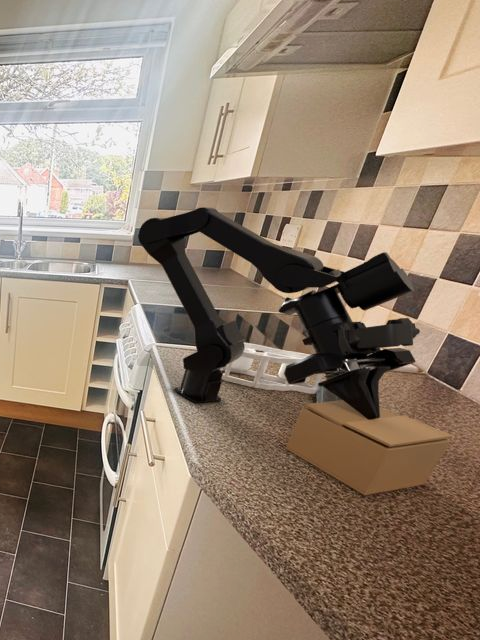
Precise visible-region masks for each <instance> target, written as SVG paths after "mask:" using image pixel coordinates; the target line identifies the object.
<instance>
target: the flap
mask: <svg viewBox="0 0 480 640" xmlns="http://www.w3.org/2000/svg"><path fill="white" fill-rule="evenodd" d="M303 406H304V408H308V409H310V410H312V411H314V412H316V413H317V414H319V415H321V416H323V417H325V418H327V419H328V420H330V421H332V422H334V423H336V424H337V425H339V426H341V427H342V426H345V425H344V424H345V423H348V422H356V421H364V420H368V419H367V418H366V417H364V416H363V415H362V414H360V413H359V412H358V411H356V410H355V409H354V408H353V407H351V406H350V405H349V404H347V403H346V402H345V401H343V400H339V401H329V402H320V403H317V402H312V403H304V405H303ZM379 408H380V417H379V418H377V419H381V418H389V417H397V416H399V415H397V414H396V413H393V412H392V411H389V410H388V409H385V408H383V407H381V406H379Z"/></svg>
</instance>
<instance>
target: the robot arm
mask: <svg viewBox="0 0 480 640" xmlns="http://www.w3.org/2000/svg"><path fill="white" fill-rule="evenodd" d="M138 230H139V231H138V233H137V239H138V243H139V244H140V245H141V247H142V248H143V249H144V251H145V252H146V253H147V254H148V255H149V256H150V257H151V258H152V259H154V260H155V261H156V262H157V263H158V264H159V265H161V267H162V269H163V271H164V272H165V275H166V277H167V278H168V281H169V282H170V284H171V286H172V288H173V290H174V292H175V294H176V296H177V298H178V300H179V301H180V303H181V305H182V307H183V309H184V311H185V313H186V315H187V317H188V319H189V321H190V322H191V325H192V326H193V333H194V345H195V348H196V352H193V353H192V354H190V355H187V356H185V357H184V358H183V359H182V363H183V369H184V373H183V377H182V380H181V384H180V386H177V387H173V391H174V392H176V393H178V394H179V395H181V396H182V397H184V398H186V399H187V400H189V401H191V402H192V403H194V404H201V403H211V402H220V401H222V398H221V397H220V396H219V392H220V389H221V386H222V382H223V380H222V379H221V378H222V375H223V374H224V373H223V372H222V371H221V370H220V369H221V368H223V367H225V366H226V365H227V364H229V363H231V362H233V361H235V360H237V359H238V358H239V357H240V356H241V355H242V354H243V351H244V349H245V346H244V343H245V342H244V340H246V337H245V336H244V335H243V334H242V333H241V331H240V329H239V326H238V323H237V321H236V320H231V321H228V322H227V321H225V320H224V319H223V318H221V316H220V315H219V314H218V312H217V310H216V308H215V306H214V305H213V302H212V301H211V298H210V297H209V294H208V293H207V291H206V289H205V288H204V286H203V284H202V282H201V280H200V278H199V276H198V275H197V273H196V271H195V269H194V267H193V265H192V263H191V262H190V259H189V258H188V256H187V252H186V237H189V236H192V235H195V234H198V233H200V234H202V235H204V236H206V237H208V238H209V239H211V240H212V241H214V242H216V243H218V245H220V246H222V247H223V248H225V249H227V250H229V251H231V253H234V254H236V255H237V256H239V257H240V258H242V259H243V260H245V261H247V262H249V263H250V264H251V265H253V266H254V267H255V268H256V270H257V271H258V272H259V274H260V275H261V276H262V277H263V278H264V279H265V280H266V281H267V282H268V283H269V284H270V285H271V286H273V287H274V289H276V290H278V292H281V293H284V294H294V293H295V294H296V293H300V292H302V291H305V290H308V289H310V288H312V289H313V288H316V289H317V288H324V287H327V286H330V285H332V286H330V287H327V288H325V289H322V290H320V291H317V290H314V289H313V290H311V291H308V292H305V293H304V294H302V295H300V296H298V297H295V298H291V297H289V296H287V297H284V302H283V303H282V304H281V305H280V307H279V308H278V313H280V314H284V315H286V316H291V315H295V314H296V315H297V317H298V318H299V321H300V324H301V326H302V327H303V330H304V332H305V334H306V336H307V337H304V338H303V339H302V340H301V341H302V343H303V345H304V346H312V348H313V350H314V353H312V354H309V355H310V356H307V357H305V358H303V359H301V360H298V361H296V362H294V363H292V364H289V365H287V366H286V369H285V371H284V375H285V377H286V380H287V382H288V384H290V385H291V384H297V383H303V382H305V380H306V378H307V377H309V376H311V377H312V376H314V375H318V374H322V373H323V374H325V375H324V376H323V377H324V379H325V380H323V381H320V383H318V385H319V386H322V387H324V388H326V389H327V390H329V391H330V392H332V393H333V394H335V395H336V396H338V397H339V398H341V399H342V400H343V401H345V402H346V403H347V404H349V405H350V406H351V407H353V408H354V409H355V410H356V411H358V412H359V413H360V414H362V415H363V416H364V417H366V418H367V419H368V420H372V419H377V418H379V417H380V408H379V407H380V394H379V390H380V389H379V387H380V386H379V385H380V380H381V378H382V377H383V375H384V374H387V373H388V372H391V371H395V370H398V369H400V368H403V367H407V366H409V365H411V364H414V363H416V359H415V358H414V356H413V354H412V352H411V351H410V350H409V349H405V348H402V347H407V346H408V347H409V346H410V347H411V346H414V339H415V338H416V337H417V336H418V335H419V334H420V333H421V330H420V329H419V328H417V327H416V323H415V322H412V320H411V319H410V318H409V317H402V318H401V317H399V318H394V319H388V320H387V321H386V323H385V324H380V325H373V326H372V325H371V326H366V324H365V323H364V322H362V321H353V320H352V318H351V316H350V313H349V312H348V310H347V308H346V306H345V305H344V303H345V304H346V305H347V306H348V307H349V308H350V309H352V310H353V309H356V308H359V309H361V310H362V311H365V312H366V311H368V310H370V309H373V308H376V307H378V306H381V305H383V304H386V303H388V302H390V301H392V300H396V299H398V298H400V297H402V296H405V295H408V294H410V293H413V292H415V288H414V285H413V282H412V281H411V279H410V278H409V276H408V274H407V273H406V270H404V269H403V268H401V267H400V265H398V264H397V262H395V261H394V260H393V259H392V258H391V257H390V255H389V254H388V252H387V251H383V252H381V253H378V254H377V255H375V256H372V257H371V258H370V259H367V261H365V262H363V263H361V264H359V265H356V266H355V267H352V268H350V269H348V270H346V271H343V270H340V269H339V268H338V269H336V268H332V267H329V266H326V265H324V262H323V261H322V260H321V259H320V258H319V257H316V256H314V255H312V254H308V253H306V252H302V251H300V250H297V249H294V248H289V247H285V246H282V245H279V244H276V243H273V242H271V241H270V240H268V239H266V238H265V237H263V236H261V235H259V234H257V233H255V232H254V231H252V230H250V229H249V228H247V227H245V226H243V225H241V224H239V223H238V222H236V221H234V220H233V219H231V218H229V217H228V216H226V215H223V214H222V213H220V212H219V211H218V210H217V209H216V208H214V207H207V206H205V207H203V206H202V207H197V208H195V209H193V210H191V211H187V212H184V213H180V214H176V215H172V216H169V217H151V218H148V219H147V220H145V221H144V222H143V223H142V224H141V226H140V227H139V229H138ZM333 284H334V285H333ZM339 294H340V295H339ZM340 296H341V297H340ZM342 300H343V301H344V303H343V301H342ZM400 346H402V347H400ZM381 348H383V349H381Z"/></svg>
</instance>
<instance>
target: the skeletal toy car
mask: <svg viewBox="0 0 480 640" xmlns="http://www.w3.org/2000/svg"><path fill="white" fill-rule="evenodd" d="M244 346H245V349H244V351H243V354H242V355H241V356H240V357H239V358H238V359H237V360H235V361H233V362H231V363H229V364H227V365H226V366H225V367H223V368H221V369H220V370H221V372H222V371H224V373H223V375H222V378H221V380H222V381H225V382H230V383H233V384H237V385H238V384H239V385H241V386H245V387H249V388H250V387H251V388H254V389H261V390H266V391H281V392H282V391H284V392H286V391H294V392H299V393H304V394H310V395H316V394H317V390H318V383H320V382H321V380H322V378H323V375H324V373H322V374H316V377H315V379H314V382H313V384H310V383H309V382H310V379H311V377H312V376H309V377H307V378H306V380H305V382H303V383H297V384H288V382H287V380H286V377H285V375H284V371H285V369H286V366H287V365H289V364H292V363H294V362H296V361H298V360H301V359H303V358H305V357H307V356H310V355H311V354H308V353H304V352H298V351H292V350H285V349H281V348H280V349H279V348H276V347H270V346H267V345H262V344H256V343H250V342H244ZM257 351H260V352H263V353H262V354H260V353H259V354H258V353H257ZM254 361H260V362H259V365H258V367H257V371H256V370H252V365H253V363H254ZM269 363H273V364H281V365H280V368H279V370H278V373H277V375H278V376H276V375H273V374H268V373H265V372H266V370H267V368H268V364H269ZM230 373H237V374H242V375H246V376H247V375H248V376H251V377H254V379H253V381H252V380H247V379H243V378H239V377H236V376H231V375H230Z"/></svg>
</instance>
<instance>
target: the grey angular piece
mask: <svg viewBox="0 0 480 640" xmlns="http://www.w3.org/2000/svg"><path fill="white" fill-rule="evenodd" d="M315 397H316V399H315V400H316V403H320V402H329V401H339V400H342V399H341V398H339V397H338V396H336V395H335V394H333V393H332V392H330V391H329V390H327V389H326V388H324V387H322V386H319V385H318V387H317V390H316V393H315Z"/></svg>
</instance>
